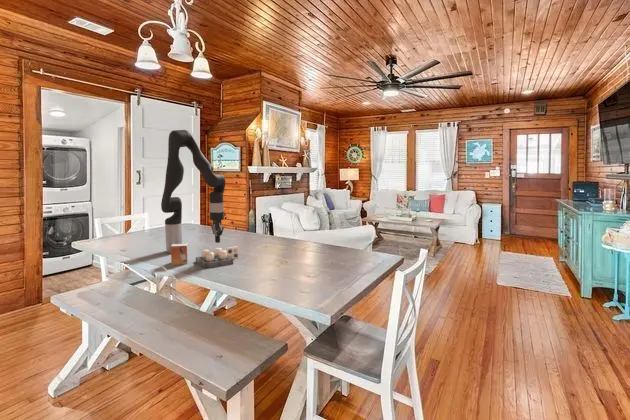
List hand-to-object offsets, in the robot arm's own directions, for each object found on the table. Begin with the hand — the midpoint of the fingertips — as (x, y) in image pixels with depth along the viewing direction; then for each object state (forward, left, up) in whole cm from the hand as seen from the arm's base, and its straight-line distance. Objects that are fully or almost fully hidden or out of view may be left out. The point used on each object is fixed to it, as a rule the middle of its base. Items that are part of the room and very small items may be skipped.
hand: (217, 242), depth 186 cm
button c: (0, -7, -8) cm, 10 cm away
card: (+1, +8, -11) cm, 13 cm away
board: (+3, -3, -11) cm, 12 cm away
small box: (-7, -18, -11) cm, 22 cm away
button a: (+7, -7, -8) cm, 12 cm away
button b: (+7, 0, -8) cm, 10 cm away
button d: (0, 0, -8) cm, 8 cm away
